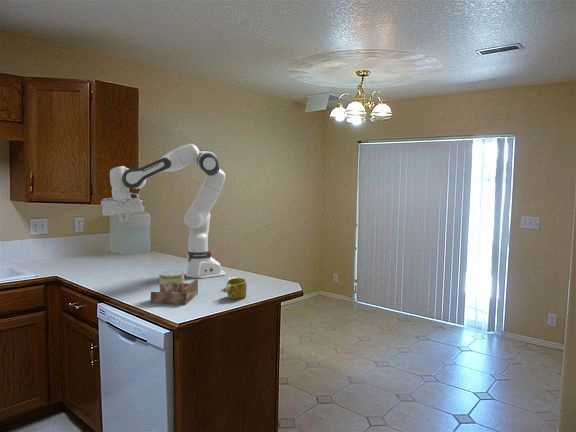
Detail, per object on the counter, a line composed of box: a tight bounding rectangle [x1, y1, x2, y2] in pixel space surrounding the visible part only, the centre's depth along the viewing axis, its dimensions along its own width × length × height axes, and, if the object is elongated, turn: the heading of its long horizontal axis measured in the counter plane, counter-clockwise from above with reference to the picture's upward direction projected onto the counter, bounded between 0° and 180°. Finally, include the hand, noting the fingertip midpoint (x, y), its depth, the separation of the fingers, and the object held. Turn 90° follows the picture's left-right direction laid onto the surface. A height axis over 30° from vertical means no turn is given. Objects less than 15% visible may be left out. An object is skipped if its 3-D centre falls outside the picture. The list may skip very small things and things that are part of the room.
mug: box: [225, 277, 248, 300], centre depth 204 cm, size 12×10×10 cm
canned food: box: [158, 270, 185, 293], centre depth 201 cm, size 11×11×12 cm
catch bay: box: [150, 278, 199, 305], centre depth 202 cm, size 16×18×7 cm
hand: (124, 222), depth 232 cm, fingers closed
